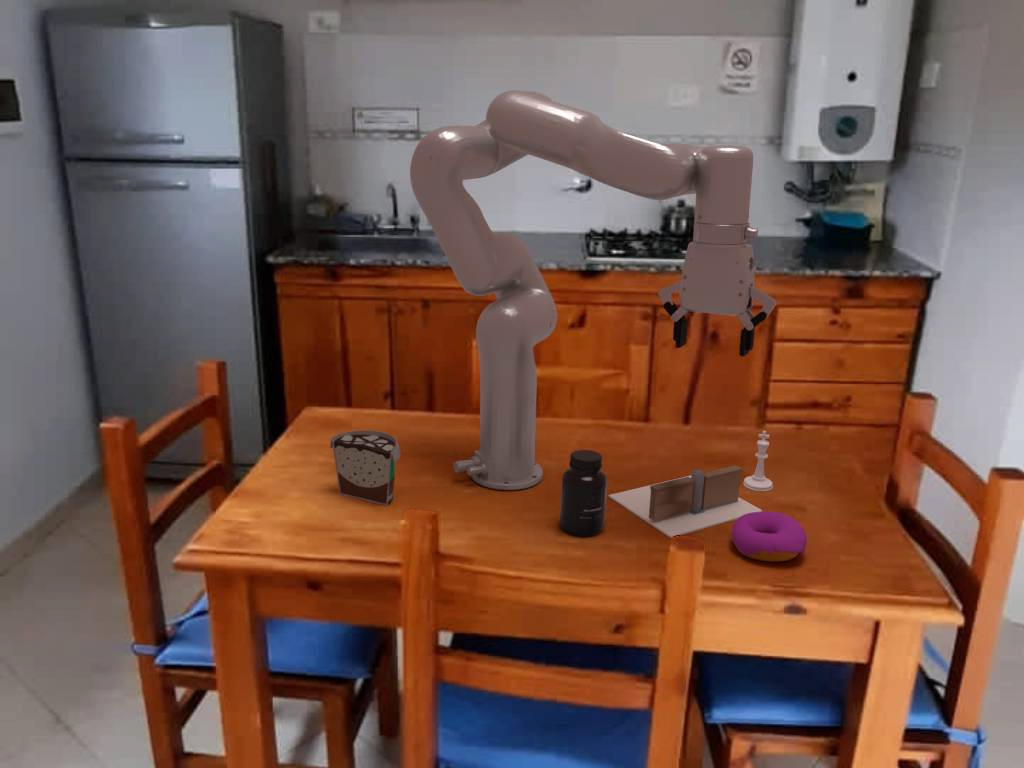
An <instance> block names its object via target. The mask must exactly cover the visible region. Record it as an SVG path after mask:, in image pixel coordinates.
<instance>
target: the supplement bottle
mask: <svg viewBox="0 0 1024 768" xmlns="http://www.w3.org/2000/svg"><path fill="white" fill-rule="evenodd" d="M568 464H569V468H566V469H565V471H564V472H563V473H562V477H561V478H562V479H561V493H560V494H561V496H560V508H559V509H560V511H559V525H560V528H561V529H562V530H563V531H564V532H565V533H567V534H569V535H572V536H576V537H583V538H584V537H592V536H593V537H594V536H596V535H598V534H600V533H601V532H602V531H603V529H604V527H605V518H606V504H607V493H608V491H607V489H608V478H607V475H606V473H605V472H604V471H603V470H602V469H603V455H602V454H601V452H600V453H599V452H598V451H595V450H590V449H578V450H574V451H572V452H571V453H570V459H569V463H568Z"/></svg>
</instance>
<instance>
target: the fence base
mask: <svg viewBox="0 0 1024 768" xmlns="http://www.w3.org/2000/svg"><path fill="white" fill-rule="evenodd" d="M742 472H743V468H742V467H740V466H738V465H735V464H734V465H731V466H727V467H723V468H718V469H715V470H714V469H713V470H711V471H706V472H705V471H704V470H701V469H693V470H691V473H690V475H688V476H686V477H690V478H691V479H693V480H695V483H694V484H693V494H692V505H691V511H689V512H685V513H682V514H678V515H674V516H670V517H667V518H663V519H659V520H655V521H653V520H651V519H650V518H649V509H650V496H651V489H650V486H651V485H655V484H659V483H660V482H658V483H654V484H649V485H646V486H641V487H637V488H633V489H628V490H624V491H620V492H615V493H611V494H607V495H608V496H607V497H608V498H609V499H611V500H612V501H614V502H616V503H617V504H619V505H620V506H621V507H622V508H624V509H626V510H627V511H629V512H631V513H632V514H633V515H635V516H637V517H638V518H640V519H641V520H643V521H644V522H646V523H647V524H649V525H650V526H652V527H654V528H655V529H656V530H658V531H659V532H661V533H662V534H663V535H666V536H667V537H669V538H670V539H673V538H674V537H673V536H676V535H680V536H682V535H686V534H690V533H693V532H696V531H701V530H704V529H705V530H706V529H708V528H711V527H714V526H718V525H721V524H725V523H729V522H733V521H736V520H737V519H738V518H739V517H741V516H742V515H744V514H747V513H752V512H764V511H763V509H760V508H759V507H757V506H755V505H753V504H751V503H750V502H747V501H746V500H744V499H743V498H740V497H739V494H740V487H741V486H740V484H741V476H742ZM684 477H685V476H683V477H679V478H675V479H671V480H667V481H666V480H665V481H662V482H661V483H664V482H668V481H672V480H676V479H680V478H684ZM676 537H677V536H676Z"/></svg>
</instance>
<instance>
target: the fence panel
mask: <svg viewBox="0 0 1024 768" xmlns="http://www.w3.org/2000/svg"><path fill="white" fill-rule="evenodd" d="M683 477H684V478H682V477H679V478H680V479H678V478H675V479H676V480H674V479H671V480H672V481H670V480H667V481H668V482H666V481H663V482H664V483H662V482H658V483H659V484H657V483H654V484H655V485H653V484H650V485H651V486H650V489H651V496H650V509H649V518H650V519H651V520H653V521H655V520H659V519H663V518H667V517H670V516H674V515H678V514H682V513H685V512H689V511H691V505H692V494H693V484H694V483H695V480H693V479H691V478H690V477H687V476H683Z"/></svg>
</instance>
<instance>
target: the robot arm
mask: <svg viewBox="0 0 1024 768" xmlns="http://www.w3.org/2000/svg"><path fill="white" fill-rule="evenodd" d="M528 155H529V156H533V157H536V158H538V159H542V160H544V161H548V162H550V163H554V164H556V165H560V166H562V167H565V168H567V169H571V170H573V171H575V172H577V173H578V174H580V175H583V176H586V177H587V178H591V179H592V180H594V181H596V182H598V183H601V184H604V185H607V186H609V187H612V188H614V189H616V190H621V191H624V192H626V193H629V194H632V195H635V196H638V197H641V198H645V199H649V200H651V201H652V200H653V201H664V200H669V199H672V198H676V197H680V196H681V197H682V196H685V195H687V196H688V195H695V207H694V221H693V222H694V223H693V238H692V240H693V241H690V242H689V243H688V244H687V249H686V253H685V257H684V262H683V266H682V271H681V279H680V280H679V281H676V282H674V283H673V284H670V285H667V286H665V287H663V288H661V289H660V290H658V292H657V294H658V296H659V299H660V302H661V303H662V305H663V306H662V307H663V309H664V310H665V312H666V313H667V314H668V316H670V318H671V321H672V322H673V335H672V339H673V341H675V347H674V348H676V349H681V348H682V347H684V346H685V345H686V344H687V340H688V339H687V335H688V323H689V322H688V319H687V318H686V315H688V313H689V312H694V313H703V314H710V315H711V314H713V315H722V316H731V317H732V316H735V317H737V318H738V319H739V322H740V323H742V325H743V328H742V329H741V330H740V339H739V350H738V351H739V353H738V355H739V356H740V357H743V358H744V357H745V356H747V355H748V354H749V353H750V351H753V349H754V343H755V341H754V340H755V331H756V329H755V328H756V327H757V326H758V325H760V324H761V323H762V322H764V321H765V320H766V319H767V318H768V317H769V315H770V314H771V313H772V311H773V310H774V308H775V306H776V305H777V300H776V299H775V298H774V297H772V296H770V295H769V294H767V293H766V292H764V291H762V290H761V289H759V288H758V287H756V286H755V258H754V248H753V245H752V244H748V243H747V242H748V241H749V240H752V239H757V238H758V235H759V229H758V228H753V227H751V225H750V223H749V220H750V219H749V218H750V204H751V191H752V181H753V169H754V154H753V151H752V150H751V148H750V147H747V146H743V145H709V146H699V145H692V144H686V143H680V142H677V143H676V142H675V143H672V142H671V143H659V142H655V141H652V140H648V139H645V138H642V137H638V136H635V135H632V134H629V133H626V132H623V131H620V130H617V129H615V128H614V127H611V126H609V125H607V124H605V123H604V122H603V121H602V120H601V118H600V117H599V116H598V115H596V114H595V113H592V112H589V111H587V110H583V109H580V108H576V107H573V106H569V105H567V104H566V105H565V104H562V103H560V102H559V103H558V102H556V101H553V100H552V99H551V98H550V97H548V96H547V95H545V94H543V93H541V92H537V91H529V90H528V91H527V90H518V89H516V90H515V89H513V90H508V91H504V92H501V93H499V94H498V95H497V96H495V98H493V100H492V101H491V102H490V104H489V106H488V107H487V110H486V114H485V120H483V121H481V122H480V123H478V124H476V125H448V126H447V125H446V126H442V127H438V128H436V129H433V130H431V131H430V132H428V133H427V134H425V135H424V136H423V137H422V138H421V139H420V141H419V142H418V143H417V145H416V147H415V149H414V151H413V154H412V156H411V161H410V168H409V178H410V184H411V188H412V191H413V195H414V197H415V199H416V201H417V202H418V205H419V208H421V210H422V212H423V214H424V216H425V218H426V219H427V221H428V223H429V225H430V226H431V229H432V231H433V233H434V235H435V237H436V239H437V242H438V244H439V246H440V248H441V249H442V251H443V254H444V256H445V258H446V260H447V262H448V264H449V265H450V267H451V270H452V272H453V274H454V277H455V278H456V279H457V281H458V283H459V285H460V286H461V288H462V289H463V290H464V291H465V292H466V293H468V294H469V295H472V296H476V297H483V296H487V295H492V294H493V293H494V296H495V297H496V300H494V301H493V302H491V303H489V305H488V306H486V307H485V308H484V309H483V311H482V312H481V313H480V315H479V317H478V319H477V322H476V327H475V328H476V329H475V337H476V339H475V340H476V345H477V350H478V352H477V353H478V359H479V370H480V372H479V373H480V374H479V376H480V377H479V379H480V382H479V383H480V384H479V385H480V387H479V388H480V389H479V390H480V392H479V393H480V400H479V401H480V403H479V407H480V410H479V449H478V450H474V451H473V452H474V454H473V456H471V457H470V458H469V459H466V460H465V459H464V460H458V461H455V462H453V469H454V472H455V473H456V474H459V473H464V472H466V473H467V475H468V476H470V477H471V479H472V480H473V481H474V482H475V483H476V484H478V485H480V486H483V487H485V488H489V489H493V490H499V491H500V490H501V491H502V490H503V491H515V490H516V491H517V490H523V489H527V488H530V487H534V486H535V485H537V484H539V483H540V482H541V480H542V479H543V475H544V469H543V467H542V466H541V465H540V464H539V463H537V462H536V461H535V449H536V445H535V444H536V419H537V417H536V416H537V389H538V388H537V385H538V381H537V379H538V376H537V368H536V367H537V365H536V362H535V361H536V360H535V356H534V346H536V345H537V344H539V343H540V342H543V341H544V340H546V339H547V338H548V337H549V336H550V335H551V334H552V333H554V330H555V329H556V325H557V322H558V311H557V306H556V303H555V300H554V298H553V296H552V293H551V291H550V290H549V287H548V285H547V284H546V282H545V280H544V278H543V275H542V273H541V271H540V269H539V268H538V265H537V263H536V261H535V259H534V257H533V255H532V253H531V251H530V250H529V249H528V247H527V246H526V245H525V244H524V242H523V241H522V240H521V239H519V238H518V237H517V236H515V235H514V234H511V233H508V232H498V231H497V232H493V231H492V229H491V228H490V226H489V224H488V222H487V220H486V219H485V216H484V214H483V212H482V209H481V207H480V206H479V204H478V203H477V201H476V200H475V199H474V198H473V197H472V196H471V194H470V193H469V192H468V191H467V190H466V189H467V188H465V186H464V183H463V182H464V181H466V180H474V179H476V180H477V179H482V178H486V177H488V176H491V175H494V174H495V173H497V172H499V171H502V170H503V169H505V168H507V167H508V166H510V165H511V164H514V163H515V162H517V161H519V160H521V159H523V158H525V157H527V156H528ZM676 292H679V294H678V295H679V296H678V300H679V307H678V306H677V304H676V303H675V302H674V301H673V300H672V299H673V298H672V294H673V293H676ZM754 301H757V302H759V303H761V305H762V307H761V309H760V311H759V312H758V313H757V314H756V315H754V313H753V312H752V310H751V309H752V308H753V307H754V306H753V305H754Z"/></svg>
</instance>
